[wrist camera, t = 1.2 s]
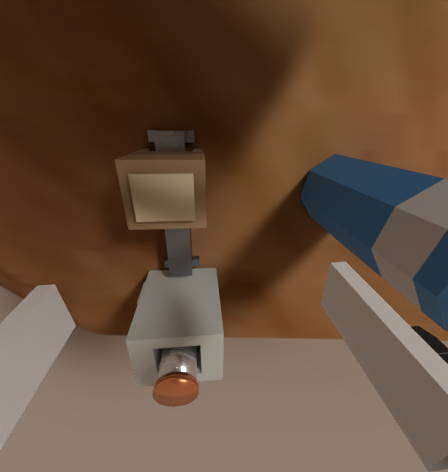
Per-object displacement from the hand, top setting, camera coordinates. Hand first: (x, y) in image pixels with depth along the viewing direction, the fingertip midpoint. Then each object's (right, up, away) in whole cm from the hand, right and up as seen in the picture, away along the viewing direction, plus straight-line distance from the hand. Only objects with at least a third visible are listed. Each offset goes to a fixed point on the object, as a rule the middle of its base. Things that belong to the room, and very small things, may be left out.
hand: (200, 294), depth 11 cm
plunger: (-4, -10, +16) cm, 19 cm away
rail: (-5, +7, +18) cm, 20 cm away
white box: (-5, -6, +24) cm, 25 cm away
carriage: (-5, +10, +16) cm, 20 cm away
